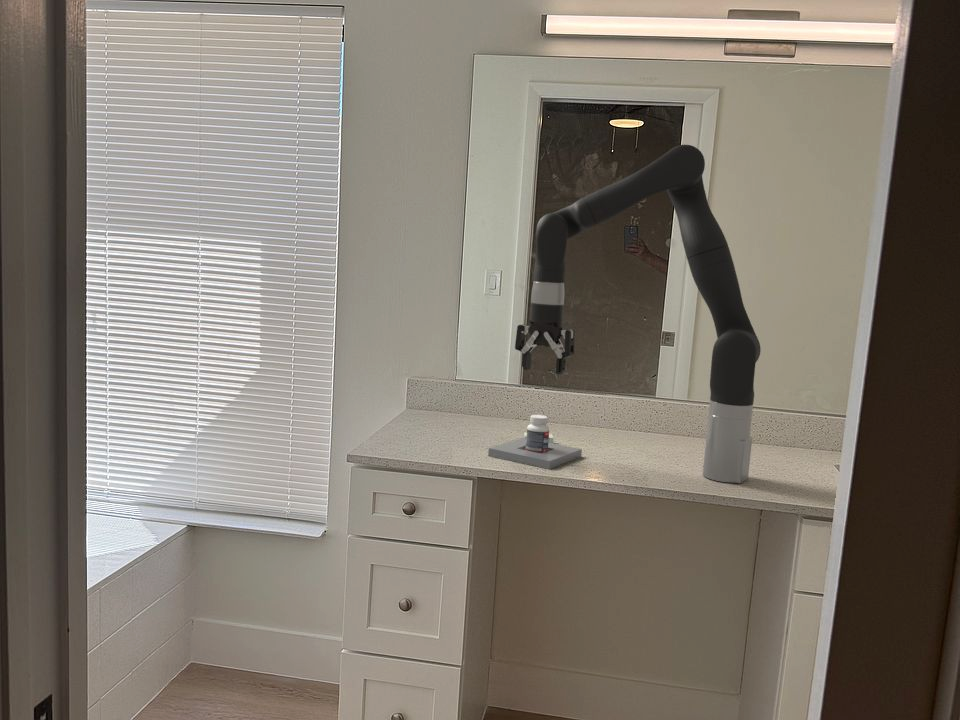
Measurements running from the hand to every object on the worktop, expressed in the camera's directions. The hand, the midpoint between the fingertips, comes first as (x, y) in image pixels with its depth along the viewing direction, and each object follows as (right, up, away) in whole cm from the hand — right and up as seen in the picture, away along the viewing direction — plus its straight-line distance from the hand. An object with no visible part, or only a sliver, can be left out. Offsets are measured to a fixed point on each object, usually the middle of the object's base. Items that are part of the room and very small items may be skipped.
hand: (542, 371), depth 198 cm
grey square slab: (-1, -20, +3) cm, 20 cm away
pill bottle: (-1, -19, +3) cm, 20 cm away
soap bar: (0, -18, +16) cm, 24 cm away
